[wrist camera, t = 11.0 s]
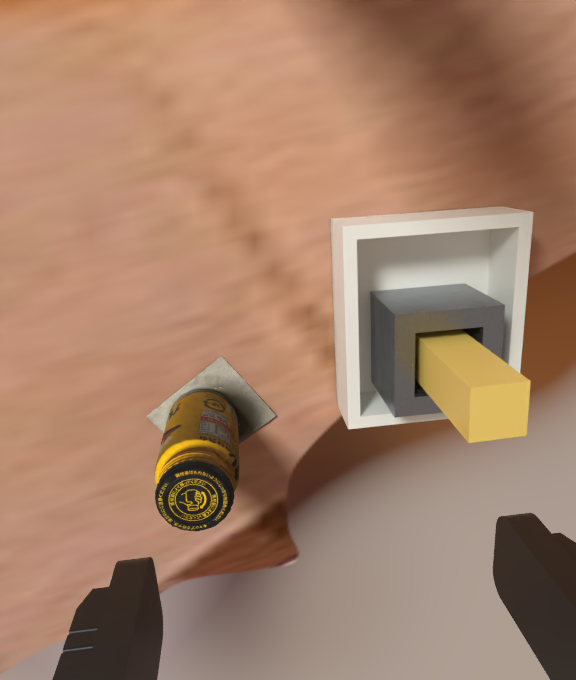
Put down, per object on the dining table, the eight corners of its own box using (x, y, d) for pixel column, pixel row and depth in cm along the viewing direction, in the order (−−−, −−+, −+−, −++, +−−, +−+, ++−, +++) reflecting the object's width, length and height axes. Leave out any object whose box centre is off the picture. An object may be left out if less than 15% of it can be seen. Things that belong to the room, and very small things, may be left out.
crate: (330, 218, 43) (342, 226, 38) (501, 206, 44) (533, 211, 39) (336, 402, 48) (348, 429, 43) (489, 387, 49) (516, 411, 44)
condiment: (146, 415, 47) (119, 498, 35) (221, 355, 46) (218, 420, 34) (203, 470, 49) (195, 564, 38) (276, 414, 48) (290, 493, 37)
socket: (370, 291, 45) (394, 314, 38) (464, 283, 45) (505, 304, 39) (371, 381, 47) (394, 417, 40) (460, 372, 48) (497, 406, 41)
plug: (406, 326, 43) (470, 388, 31) (451, 321, 43) (530, 381, 32) (406, 369, 44) (468, 443, 32) (450, 364, 44) (526, 435, 33)
